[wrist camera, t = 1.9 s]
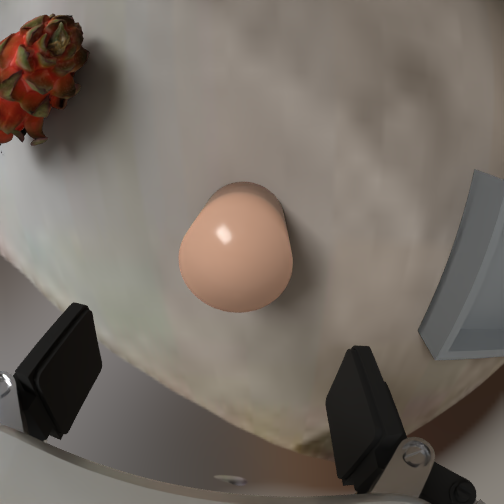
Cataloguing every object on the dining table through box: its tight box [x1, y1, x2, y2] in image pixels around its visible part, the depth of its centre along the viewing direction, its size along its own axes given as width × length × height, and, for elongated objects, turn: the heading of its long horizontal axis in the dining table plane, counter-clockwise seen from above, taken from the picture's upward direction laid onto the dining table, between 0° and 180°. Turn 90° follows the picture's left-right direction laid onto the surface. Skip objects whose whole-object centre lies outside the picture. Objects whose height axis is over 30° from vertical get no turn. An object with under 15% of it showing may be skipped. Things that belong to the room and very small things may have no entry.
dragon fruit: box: [0, 14, 89, 153], centre depth 15 cm, size 8×8×12 cm
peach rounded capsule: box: [179, 182, 293, 312], centre depth 19 cm, size 6×6×7 cm
